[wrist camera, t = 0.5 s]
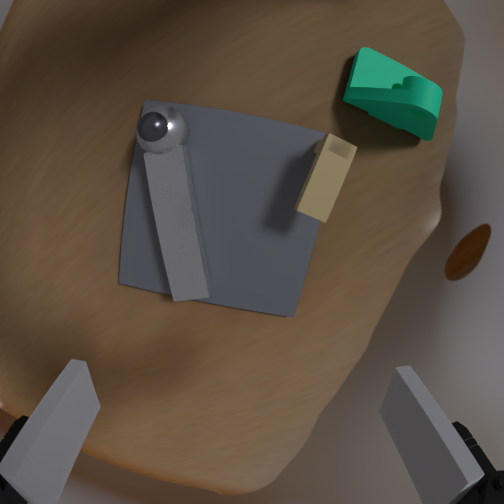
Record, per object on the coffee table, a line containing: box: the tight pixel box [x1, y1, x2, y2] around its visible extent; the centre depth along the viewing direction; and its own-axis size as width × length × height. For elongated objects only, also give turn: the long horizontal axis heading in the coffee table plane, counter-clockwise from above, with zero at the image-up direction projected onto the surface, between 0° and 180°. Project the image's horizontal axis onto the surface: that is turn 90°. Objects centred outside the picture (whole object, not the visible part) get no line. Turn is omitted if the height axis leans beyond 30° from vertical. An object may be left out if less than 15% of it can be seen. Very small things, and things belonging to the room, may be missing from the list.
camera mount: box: [343, 47, 442, 141], centre depth 26 cm, size 12×8×10 cm, turn 73°
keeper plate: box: [119, 100, 357, 317], centre depth 31 cm, size 22×22×8 cm
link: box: [136, 106, 212, 302], centre depth 29 cm, size 20×5×6 cm, turn 8°
